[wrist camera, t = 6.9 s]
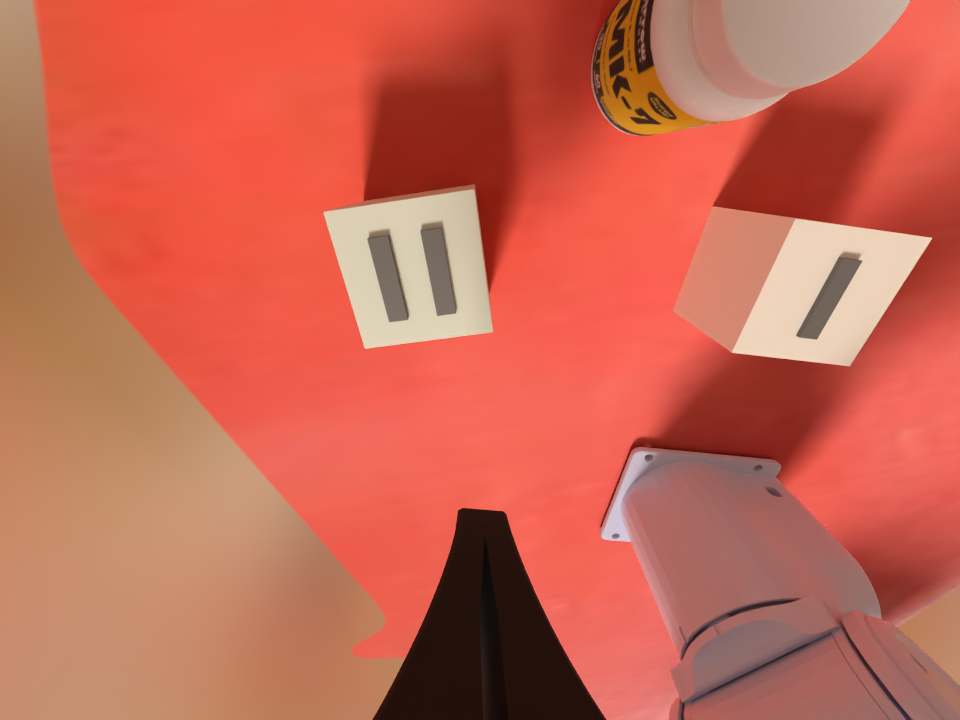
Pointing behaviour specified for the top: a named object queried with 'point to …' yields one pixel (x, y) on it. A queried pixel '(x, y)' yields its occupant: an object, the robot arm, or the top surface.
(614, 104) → the supplement bottle
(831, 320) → the numbered block one
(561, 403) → the top surface
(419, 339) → the numbered block two
